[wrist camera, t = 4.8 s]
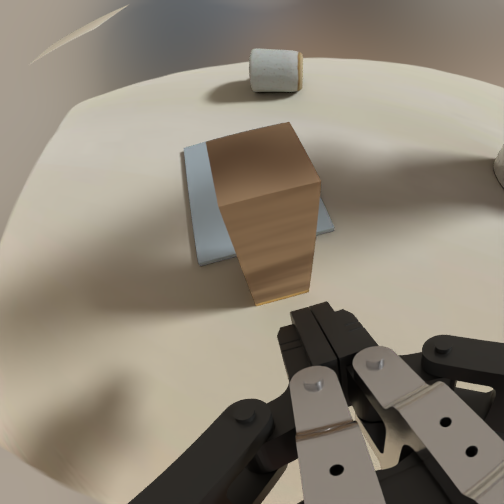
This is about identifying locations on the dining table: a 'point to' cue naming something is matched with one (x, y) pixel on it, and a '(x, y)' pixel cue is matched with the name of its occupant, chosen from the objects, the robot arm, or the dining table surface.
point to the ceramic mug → (275, 70)
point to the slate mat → (217, 209)
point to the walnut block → (268, 207)
